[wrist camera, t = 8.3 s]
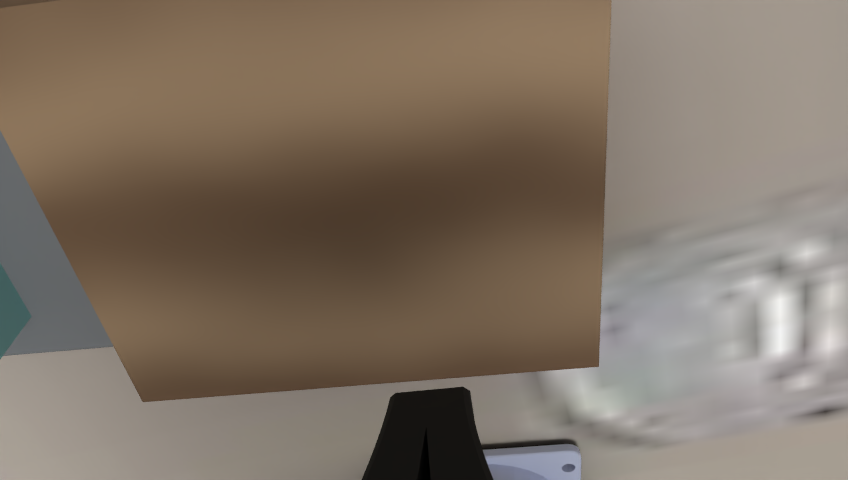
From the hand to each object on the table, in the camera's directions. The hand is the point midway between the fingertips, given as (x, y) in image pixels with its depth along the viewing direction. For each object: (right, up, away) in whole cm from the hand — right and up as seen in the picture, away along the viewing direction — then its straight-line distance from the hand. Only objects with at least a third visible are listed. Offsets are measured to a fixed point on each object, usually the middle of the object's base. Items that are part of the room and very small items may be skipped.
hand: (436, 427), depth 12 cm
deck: (-3, +6, +7) cm, 10 cm away
